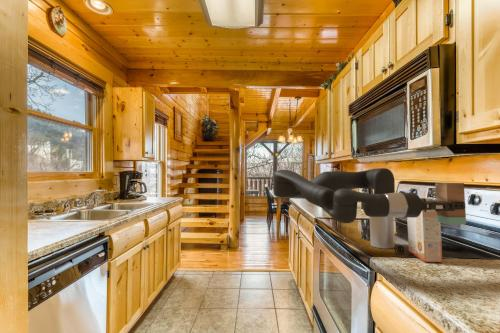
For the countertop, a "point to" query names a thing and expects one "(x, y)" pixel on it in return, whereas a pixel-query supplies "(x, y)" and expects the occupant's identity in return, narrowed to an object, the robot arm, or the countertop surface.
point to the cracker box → (425, 237)
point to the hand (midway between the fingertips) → (457, 204)
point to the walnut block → (453, 194)
